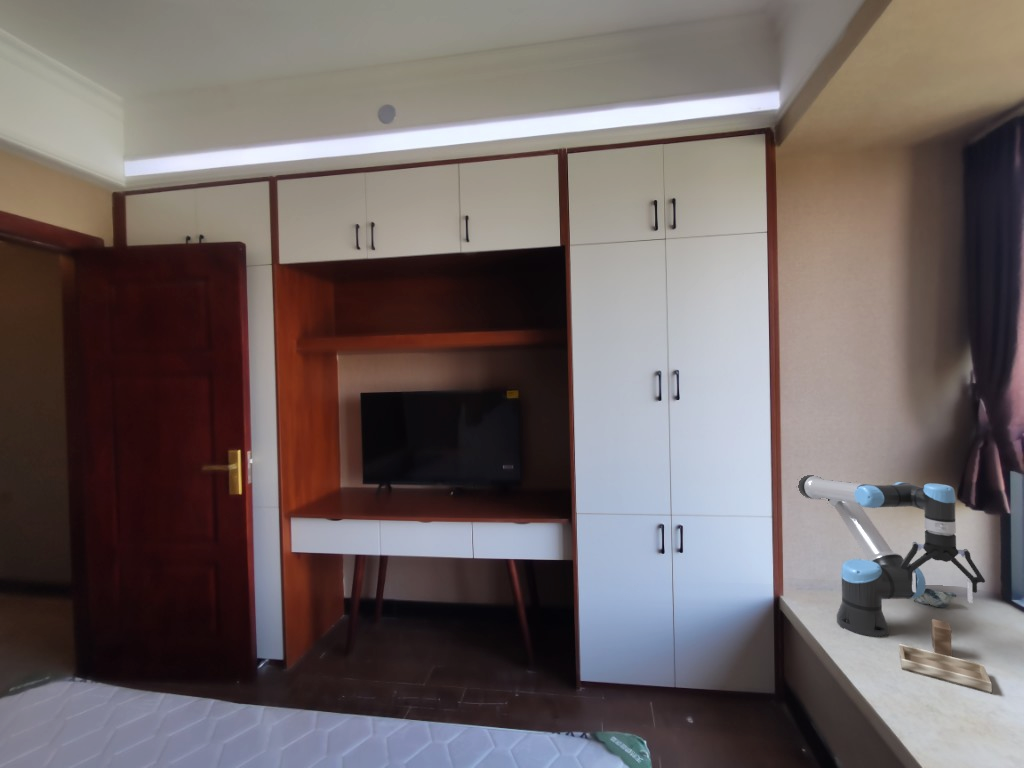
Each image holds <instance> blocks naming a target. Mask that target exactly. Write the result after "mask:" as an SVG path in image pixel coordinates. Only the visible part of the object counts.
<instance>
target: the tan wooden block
mask: <svg viewBox="0 0 1024 768" xmlns="http://www.w3.org/2000/svg"><path fill="white" fill-rule="evenodd" d="M931 631H932V632H931V634H932V636H931V639H932V649H933V651H934V653H938V654H942V655H946V656H950V657H953V656H952V655H953V653H952V652H953V651H952V646H953V645H952V629H951V626H950V623H949V621H948V622H947V621H943V620H939V619H934V618H932V619H931Z"/></svg>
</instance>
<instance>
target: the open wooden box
mask: <svg viewBox="0 0 1024 768" xmlns="http://www.w3.org/2000/svg"><path fill="white" fill-rule="evenodd" d="M898 648H899V651H898V652H899V658H900V659H899V660H900V665H901V670H903V671H906V672H910V673H913V674H917V675H921V676H925V677H929V678H932V679H936V680H938V681H939V680H940V681H943V682H947V683H951V684H954V685H957V686H961V687H965V688H969V689H972V690H975V691H980V692H983V693H985V694H986V693H987V694H992V693H993V692H992V691H993V690H992V687H993V686H992V682H991V680H990V677H989V674H988V672H987V670H986V667H985V665H984V664H981V663H979V662H974V661H971V660H965V659H962V658H958V657H953V656H952V657H950V656H946V655H942V654H938V653H935V652H933V651H929V650H926V649H921V648H919V647H918V648H917V647H914V646H910V645H905V644H901V643H899V644H898Z"/></svg>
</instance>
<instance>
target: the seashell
mask: <svg viewBox="0 0 1024 768" xmlns="http://www.w3.org/2000/svg"><path fill="white" fill-rule="evenodd" d="M955 597H957V594H956V593H955V592H945V591H937V590H934V589H931V588H925V591H924V593H923V594H922V595H921V596H920V597H917V598H913V601H914V603H918V604H922V605H927V606H932V607H935V608H945V607H947V606H949V605H950V603H951V602H952V601H953V598H955ZM929 604H930V605H929Z"/></svg>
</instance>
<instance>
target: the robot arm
mask: <svg viewBox="0 0 1024 768" xmlns="http://www.w3.org/2000/svg"><path fill="white" fill-rule="evenodd" d="M798 488H799V491H800V493H801V494H802V495H803V496H802V495H801V494H800V493H799V494H800V495H801V496H802V497H804V496H805V497H804V498H806V499H809V498H810V499H811V500H822V499H821V498H826V499H828V501H829V503H830V504H831V505H832V506H834V507H835V508H834V509H835V510H836V511H837V513H838V515H839V516H840V518H841V520H842V521H843V523H844V524H845V525H846V527H847V528H848V530H849V532H850V533H851V535H852V536H853V537H854V539H855V541H856V542H857V544H858V545H859V547H860V548H861V551H863V553H864V555H865V556H866V558H867V559H861V558H852V559H848V560H846V561H844V562H843V563H842V565H841V571H840V577H841V604H840V605H839V608H838V611H837V613H836V623H837V625H839V626H840V627H841V628H842V629H845V630H846V631H848V632H852V633H853V634H856V635H860V636H864V637H870V638H884V637H887V636H888V635H889V625H888V623H887V620H886V617H885V615H884V612H883V610H882V608H883V607H882V606H883V605H882V604H883V603H882V601H883V600H899V599H901V600H902V599H907V600H910V599H915V598H917V597H920V596H921V595H922V594H923V593H924V591H925V589H926V584H927V583H926V578H925V575H924V573H923V572H922V570H921V569H920V568H919V567H921V566H922V565H923V564H924V563H926V562H927V561H930V560H931V559H932V560H934V561H942V562H945V563H948V562H951V563H952V564H953V565H955V566H956V568H958V569H959V570H960V571H961V572H962V573H963V574H964V576H966V578H968V579H967V583H966V584H967V587H966V588H967V590H966V591H967V601H968V603H969V604H974V603H973V602H974V601H973V598H974V597H973V593H974V594H976V593H977V592H978V584H979V583H985V582H986V580H985V578H984V576H983V575H982V573H981V572H980V570H979V569H978V568H977V566H976V564H975V563H974V561H973V560H972V558H971V553H970V551H969V549H967V548H965V549H957V536H956V535H955V534H956V531H957V528H956V524H957V523H956V502H957V499H956V494H955V493H956V492H955V489H954V487H952V486H951V485H947V484H941V483H926V484H924V485H923V486H921V485H917V484H914V483H910V482H902V481H900V482H899V481H898V482H895V483H893V484H884V485H882V484H881V485H879V484H867V483H859V482H857V483H851V482H842V481H833V480H824V479H822V478H821V477H818V476H814V475H807V476H804V477H803V478H801V480H800V481H799V485H798ZM810 499H809V500H810ZM900 507H901V508H902V507H905V508H906V507H913V508H917V509H920V510H923V511H924V529H925V530H924V544H921V543H917V542H916V541H913V542H912V546H911V548H910V550H909V552H908V553H907V554H906V556H905V557H902V555H901V554H899V553H896V552H894V551H893V549H892V548H891V546H890V545H889V544H888V542H887V541H886V540H885V538H884V537H883V536H882V534H881V533H880V531H879V530H878V528H877V527H876V525H875V524H874V523H873V521H872V520H871V517H869V515H868V514H867V512H866V511H865V510H864V509H863V508H869V509H875V508H876V509H877V508H900ZM922 549H923V550H924V551H925V553H924V554H923V555H921V556H919V558H918V559H916V560H914V561H913V558H914V557H915V556H916V554H917V553H918V551H921V550H922ZM958 555H961V557H962V558H965V560H966V562H967V564H968V565H969V567H970V568H971V569H972V571H973V572H974V574H975V576H974V575H973V574H972V573H971V572H970V571H969V570H968V569H967V568H966V567H965V566H964V565H963V564H962V563H961V562H960V561H958V559H957V558H955V557H957V556H958ZM911 561H913V562H912V563H910V562H911Z"/></svg>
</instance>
